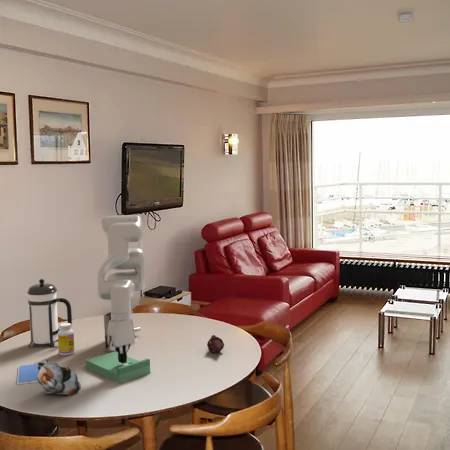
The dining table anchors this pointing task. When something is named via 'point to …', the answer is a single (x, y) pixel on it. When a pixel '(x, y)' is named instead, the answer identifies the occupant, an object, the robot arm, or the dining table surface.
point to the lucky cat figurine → (57, 378)
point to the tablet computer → (27, 374)
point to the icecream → (215, 344)
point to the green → (118, 367)
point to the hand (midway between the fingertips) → (122, 362)
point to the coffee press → (44, 313)
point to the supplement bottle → (65, 339)
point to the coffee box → (106, 323)
